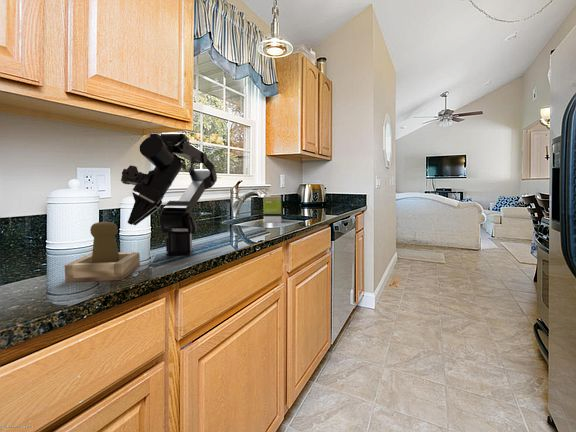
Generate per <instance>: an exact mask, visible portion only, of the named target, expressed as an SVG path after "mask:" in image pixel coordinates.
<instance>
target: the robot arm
mask: <svg viewBox="0 0 576 432" xmlns="http://www.w3.org/2000/svg"><path fill="white" fill-rule="evenodd" d="M139 153H140V154H141V155H142V156H143V157H145V158H146V160H148V162H150V163H151V164H152V165H153V166H154V168H153V169H151V170H149V171H148V172H147V173H144V172H141V171H139V170H138V166H135V165H131V164H130V165H129V166H128V167H127V168H123V170H122V172H121V179H120V182H121V183H122V184H124V185H132V186H134V187H133V188H132V197H133V200H134V204H133V207H132V209H131V212H130V215H129V217H128V220H127V224H129V225H133V226H137V225H138V224H139V223H141V222H142V221H144V220H145V219H146V218H148V217H149V216H151V215H152V214H154V213H155V212H156V211H158V209H160V208H161V206H162V204H163V199H164V198H165V195H166V193H167V192H168V190H169V189H170V188H171V186H172V185H173V182H174V181H175V179H176V178H177V176H178V174H179V173H180V171H181V169H182V170H186V169H187V164H186V160H187V161H189V162H190V167H189V170H188V174H189V177H190V179H191V180H190V181H191V182H190V184H189V185H188V187H187V188H186V190H185V191H184V192H183V193H182V195H181V196H180V197H179V199H178V200H169V201H167V203H166V205H165V206H164V207H163V208H162V209H163V210H162V211H161V213H160V215H159V223H160V227H161V232H162V234H167V237H166V238H165V247H166V248H165V249H166V250H165V252H166V256H178V255H179V256H183V255H185V256H186V255H187V256H188V255H190V254H192V253H193V251H194V248H193V236H192V234H196V233H197V230H198V225H197V222H196V220H195V218H194V215H193V209H194V208H195V206H196V205H197V203H198V202H199V200H200V199H201V197H202V195H203V193H205V190H208V189H211V188H212V187H213V186H214V185H215V184H216V182H217V180H218V176H217V172H216V168H215V165H214V164H213V163H212V162H211V161H210V159H208V155H207V153H206V151H202V150H201V149H199V148H197V147H195V146H194V145H193V144H191V143H190V139H189V137H188V136H187V135H186V134H185V133H184V132H161V133H160V134H159V133H158V132H155V133H154V132H151V133H150V135H149V137H147V138H144V139H143V141H142V142H141V143H140V144H139ZM194 164H203V166H204V167H205V168H204V169H202V168H201V169H200V168H198V169H195V168H194ZM137 193H138V194H137Z"/></svg>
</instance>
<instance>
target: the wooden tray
mask: <svg viewBox="0 0 576 432" xmlns="http://www.w3.org/2000/svg"><path fill="white" fill-rule="evenodd" d="M118 253H119V258H120V261H118V262H110V263H92V253H89V254H87V255H84V256H82V257H81V258H78V259H76V260H73V261H71V262H69V263H66V264H65V265H64V276H65V277H64V278H65V283H70V282H71V283H72V282H73V283H74V282H95V281H97V282H99V281H103V282H105V281H123V280H124V279H126V277H128V276H129V275H130V274H132V273H133V272H134V271H135V270H137V269H138V268H140V266H141V259H140V258H141V257H140V252H139V251H138V252H135V251H133V252H132V251H131V252H118Z"/></svg>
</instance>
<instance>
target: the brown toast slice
mask: <svg viewBox="0 0 576 432" xmlns="http://www.w3.org/2000/svg"><path fill="white" fill-rule="evenodd" d="M89 231H90V234H91V235H90V236H92V237H93V243H92V244H93V245H92V263H110V262H118V261H120V258H119V253H120V252H119V249H118V245H117V240H116V235H117V234H118V225H117V224H116V223H115V222H111V221H100V222H94V223H93V224H92V225H91V226H90V230H89Z"/></svg>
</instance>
